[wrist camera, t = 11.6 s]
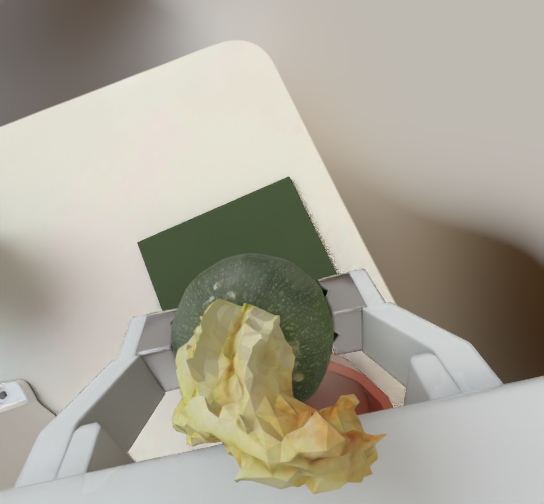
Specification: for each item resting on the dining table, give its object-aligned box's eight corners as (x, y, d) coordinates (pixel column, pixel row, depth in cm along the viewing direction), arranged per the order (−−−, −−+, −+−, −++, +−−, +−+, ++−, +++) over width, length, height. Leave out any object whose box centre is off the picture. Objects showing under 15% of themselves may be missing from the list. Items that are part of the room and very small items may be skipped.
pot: (252, 514, 32) (241, 584, 24) (248, 326, 36) (237, 332, 27) (384, 512, 32) (419, 583, 24) (368, 322, 35) (393, 327, 27)
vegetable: (228, 321, 22) (-228, 434, 2) (264, 273, 23) (141, 33, 3) (278, 361, 21) (222, 954, 2) (314, 310, 22) (588, 330, 2)
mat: (180, 353, 35) (178, 354, 35) (139, 243, 38) (136, 242, 37) (339, 281, 36) (340, 281, 35) (289, 178, 38) (289, 176, 38)
